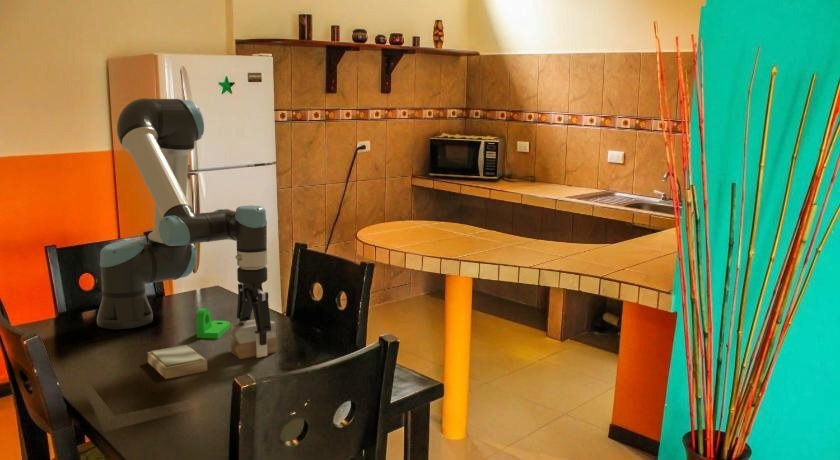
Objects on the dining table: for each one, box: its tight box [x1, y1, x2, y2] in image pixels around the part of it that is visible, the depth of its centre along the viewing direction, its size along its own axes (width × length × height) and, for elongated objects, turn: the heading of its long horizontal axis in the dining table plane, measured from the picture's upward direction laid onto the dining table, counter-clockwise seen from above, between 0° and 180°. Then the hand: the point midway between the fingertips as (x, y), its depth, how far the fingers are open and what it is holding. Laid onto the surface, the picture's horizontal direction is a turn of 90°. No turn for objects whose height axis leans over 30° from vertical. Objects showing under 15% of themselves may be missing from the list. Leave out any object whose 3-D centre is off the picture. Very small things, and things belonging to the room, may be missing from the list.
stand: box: [147, 344, 208, 380], centre depth 181 cm, size 14×10×3 cm
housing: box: [230, 318, 278, 360], centre depth 192 cm, size 6×10×8 cm, turn 126°
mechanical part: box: [195, 307, 231, 340], centre depth 209 cm, size 12×6×8 cm, turn 175°
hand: (254, 351), depth 193 cm, fingers open, 9 cm apart
